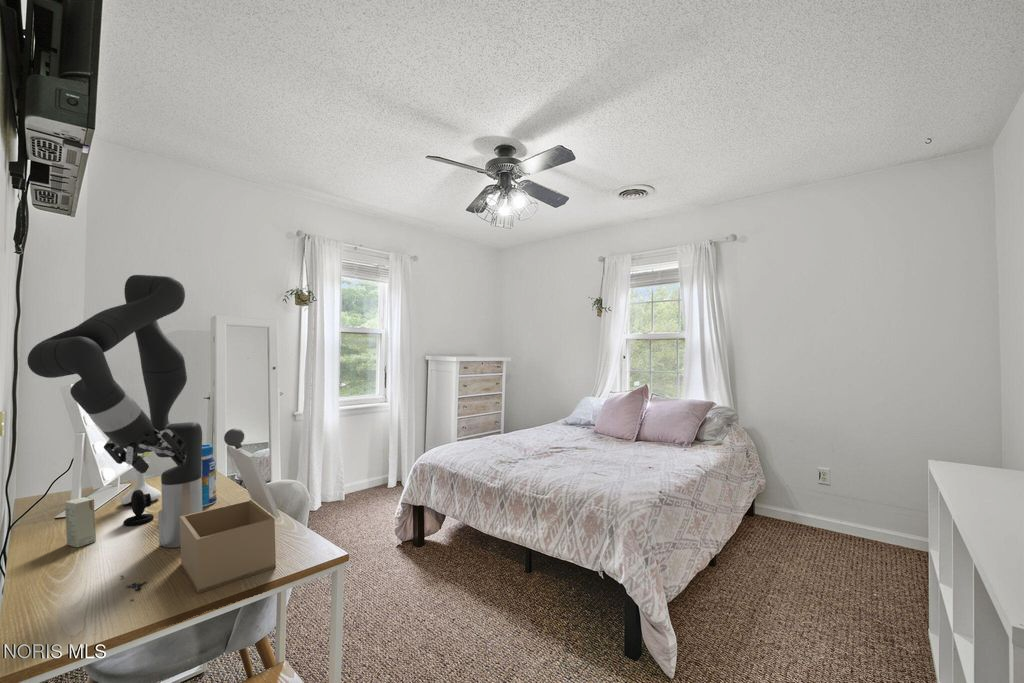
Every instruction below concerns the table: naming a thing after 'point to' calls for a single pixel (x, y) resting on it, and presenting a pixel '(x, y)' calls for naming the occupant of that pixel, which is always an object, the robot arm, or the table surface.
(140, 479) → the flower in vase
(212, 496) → the beverage bottle
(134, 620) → the table surface
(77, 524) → the skincare box
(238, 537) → the carton
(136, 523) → the webcam
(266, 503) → the white box lid
